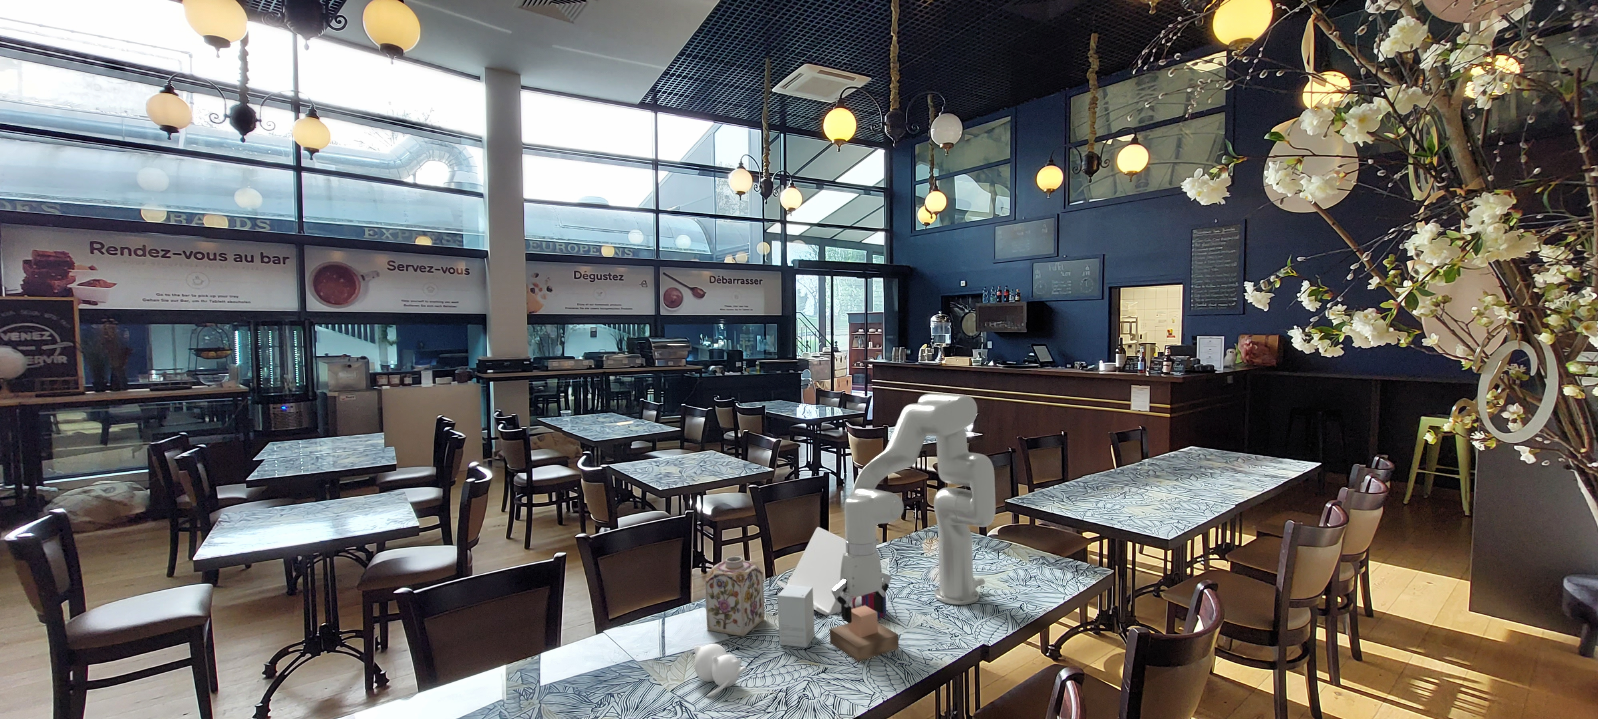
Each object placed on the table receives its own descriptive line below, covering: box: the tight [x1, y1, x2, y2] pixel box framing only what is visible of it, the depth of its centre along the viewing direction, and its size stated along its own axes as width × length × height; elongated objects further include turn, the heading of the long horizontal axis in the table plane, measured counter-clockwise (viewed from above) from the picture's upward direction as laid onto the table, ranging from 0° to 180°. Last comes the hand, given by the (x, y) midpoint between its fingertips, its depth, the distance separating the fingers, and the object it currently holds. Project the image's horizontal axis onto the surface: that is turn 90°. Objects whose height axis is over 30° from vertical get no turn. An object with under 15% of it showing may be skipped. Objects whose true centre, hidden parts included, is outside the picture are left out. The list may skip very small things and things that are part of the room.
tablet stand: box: [776, 526, 862, 616], centre depth 192 cm, size 18×25×17 cm
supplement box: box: [776, 584, 816, 648], centre depth 164 cm, size 7×7×13 cm
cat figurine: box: [693, 643, 747, 698], centre depth 144 cm, size 9×11×12 cm
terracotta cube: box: [849, 606, 879, 638], centre depth 160 cm, size 5×5×5 cm
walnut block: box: [829, 622, 900, 663], centre depth 160 cm, size 12×12×4 cm
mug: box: [852, 591, 887, 619], centre depth 178 cm, size 7×10×7 cm
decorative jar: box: [705, 555, 765, 637], centre depth 174 cm, size 12×12×18 cm
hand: (863, 616), depth 160 cm, fingers open, 9 cm apart
